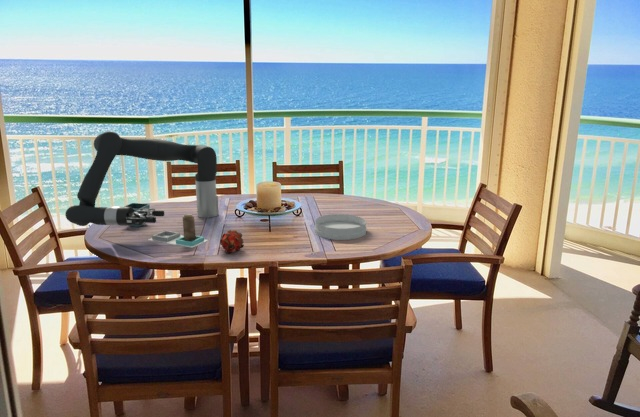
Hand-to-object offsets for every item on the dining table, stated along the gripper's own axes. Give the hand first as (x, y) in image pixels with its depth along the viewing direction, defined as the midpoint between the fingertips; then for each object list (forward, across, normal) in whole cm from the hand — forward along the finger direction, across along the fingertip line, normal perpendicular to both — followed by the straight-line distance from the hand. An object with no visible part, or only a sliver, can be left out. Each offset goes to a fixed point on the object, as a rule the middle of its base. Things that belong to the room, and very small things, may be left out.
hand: (159, 216), depth 191 cm
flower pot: (-20, +23, +11) cm, 33 cm away
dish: (+70, +21, +13) cm, 74 cm away
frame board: (+6, +1, +11) cm, 13 cm away
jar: (+12, -1, +10) cm, 15 cm away
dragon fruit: (+30, -7, +12) cm, 33 cm away
